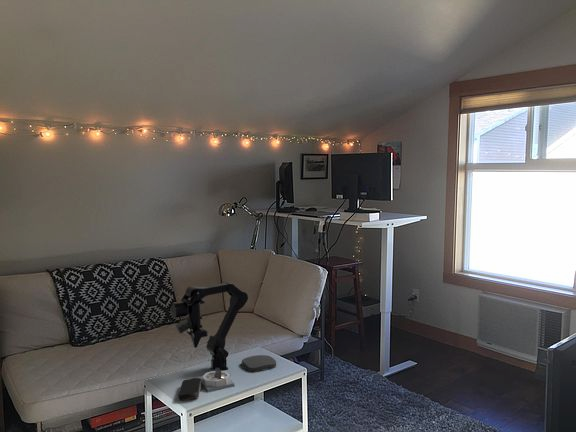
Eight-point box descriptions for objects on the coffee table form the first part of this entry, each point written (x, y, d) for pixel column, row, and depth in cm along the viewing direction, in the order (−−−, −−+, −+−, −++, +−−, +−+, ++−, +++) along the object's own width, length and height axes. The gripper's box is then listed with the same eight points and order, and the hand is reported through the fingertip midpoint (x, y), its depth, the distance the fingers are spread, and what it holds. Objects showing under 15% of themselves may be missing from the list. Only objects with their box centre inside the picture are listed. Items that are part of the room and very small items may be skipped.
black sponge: (198, 401, 205) (198, 392, 205) (177, 402, 204) (177, 393, 204) (202, 385, 221) (201, 377, 221) (182, 386, 221) (182, 378, 220)
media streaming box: (239, 363, 246) (239, 357, 246) (266, 358, 252) (266, 352, 252) (250, 373, 233) (250, 367, 233) (279, 368, 239) (278, 362, 239)
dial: (228, 381, 220) (228, 368, 220) (211, 385, 216) (211, 372, 215) (220, 375, 227) (220, 362, 226) (204, 379, 223) (203, 366, 222)
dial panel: (224, 376, 230) (223, 367, 229) (234, 386, 219) (234, 376, 218) (198, 381, 224) (198, 372, 224) (208, 392, 213) (207, 382, 213)
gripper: (171, 312, 234) (172, 344, 236) (182, 321, 218) (184, 356, 219) (194, 308, 240) (195, 340, 241) (207, 318, 223) (208, 352, 224)
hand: (195, 347), depth 231 cm, fingers closed
